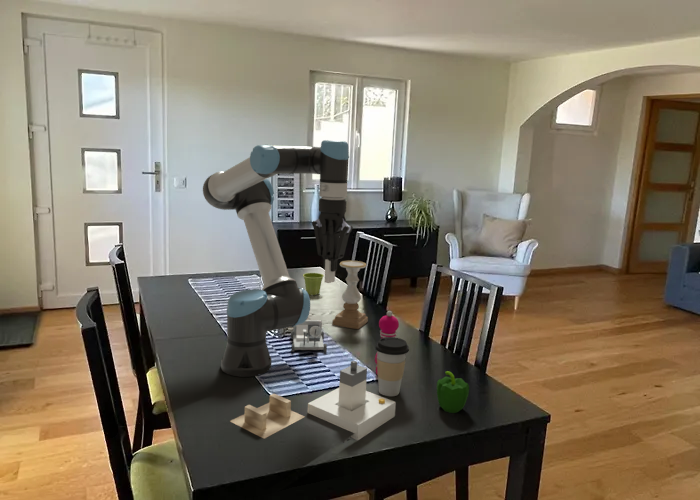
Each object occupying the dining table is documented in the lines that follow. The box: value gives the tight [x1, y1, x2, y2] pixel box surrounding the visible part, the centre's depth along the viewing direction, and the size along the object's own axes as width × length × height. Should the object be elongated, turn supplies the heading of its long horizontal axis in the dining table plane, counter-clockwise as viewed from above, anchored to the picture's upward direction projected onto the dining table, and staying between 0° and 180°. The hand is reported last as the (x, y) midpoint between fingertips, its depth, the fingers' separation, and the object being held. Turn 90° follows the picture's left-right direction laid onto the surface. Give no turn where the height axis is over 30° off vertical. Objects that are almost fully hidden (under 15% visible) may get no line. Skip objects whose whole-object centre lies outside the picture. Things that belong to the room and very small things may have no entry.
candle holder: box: [331, 260, 369, 330], centre depth 214 cm, size 11×11×24 cm
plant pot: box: [302, 272, 325, 296], centre depth 254 cm, size 9×9×9 cm
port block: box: [307, 387, 397, 441], centre depth 142 cm, size 16×16×5 cm
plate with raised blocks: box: [229, 393, 306, 440], centre depth 136 cm, size 12×14×6 cm
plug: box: [338, 360, 368, 411], centre depth 141 cm, size 4×6×14 cm, turn 142°
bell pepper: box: [436, 370, 470, 414], centre depth 149 cm, size 8×8×10 cm
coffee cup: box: [375, 337, 410, 397], centre depth 157 cm, size 9×9×15 cm
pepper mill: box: [374, 310, 400, 376], centre depth 169 cm, size 7×7×20 cm
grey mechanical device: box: [290, 319, 328, 353], centre depth 189 cm, size 18×10×12 cm
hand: (329, 281), depth 156 cm, fingers closed
